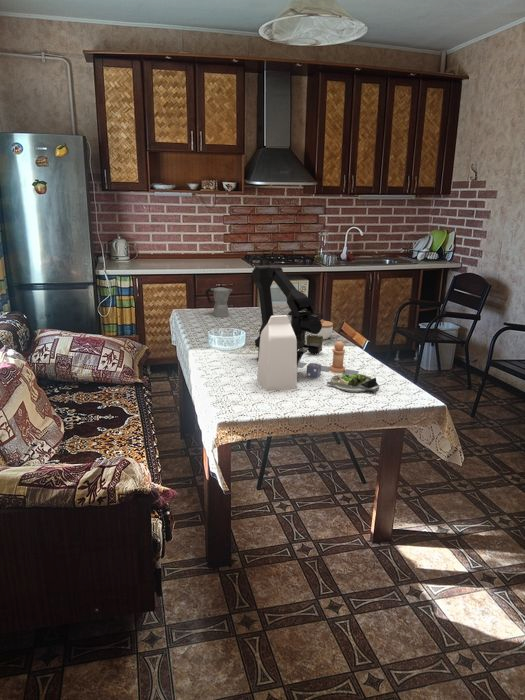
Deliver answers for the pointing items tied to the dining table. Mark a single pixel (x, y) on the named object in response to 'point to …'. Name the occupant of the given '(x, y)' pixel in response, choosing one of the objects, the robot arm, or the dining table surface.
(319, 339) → the cup
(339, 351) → the pawn
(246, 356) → the dining table surface
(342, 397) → the dining table surface
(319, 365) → the die
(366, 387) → the salad plate
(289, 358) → the milk
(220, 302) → the coffeepot
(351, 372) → the board
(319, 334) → the lidded jar
